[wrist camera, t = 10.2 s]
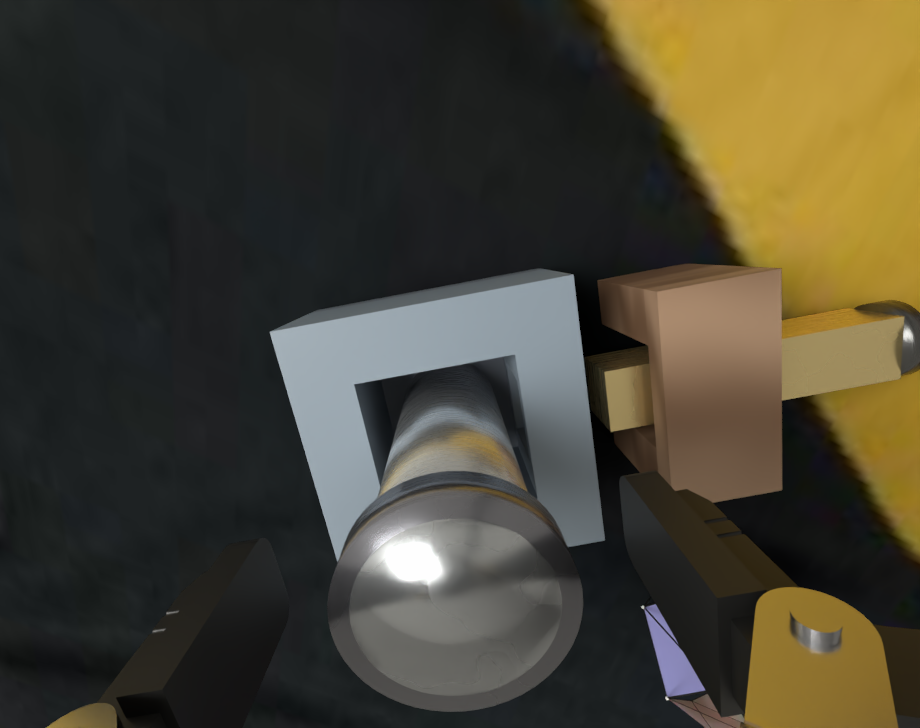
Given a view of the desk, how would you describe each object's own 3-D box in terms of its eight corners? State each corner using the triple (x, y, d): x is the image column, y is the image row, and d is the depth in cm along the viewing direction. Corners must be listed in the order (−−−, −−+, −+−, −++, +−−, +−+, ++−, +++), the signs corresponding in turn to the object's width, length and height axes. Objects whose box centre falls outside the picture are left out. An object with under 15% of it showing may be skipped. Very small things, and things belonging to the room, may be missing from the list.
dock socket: (316, 310, 20) (269, 331, 14) (538, 268, 20) (573, 274, 14) (369, 506, 22) (345, 587, 17) (566, 470, 22) (604, 540, 17)
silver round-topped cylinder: (385, 361, 19) (296, 525, 8) (494, 340, 19) (566, 476, 8) (408, 460, 21) (361, 730, 9) (510, 441, 21) (596, 688, 9)
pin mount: (597, 280, 20) (656, 291, 14) (686, 263, 20) (781, 268, 14) (614, 443, 22) (673, 509, 16) (695, 428, 22) (782, 490, 16)
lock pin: (581, 348, 19) (606, 366, 16) (859, 296, 19) (936, 305, 16) (589, 414, 20) (614, 442, 17) (857, 364, 19) (929, 384, 17)
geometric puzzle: (629, 544, 21) (719, 773, 16) (776, 512, 21) (913, 735, 16) (613, 579, 26) (676, 756, 21) (728, 554, 26) (818, 727, 21)
